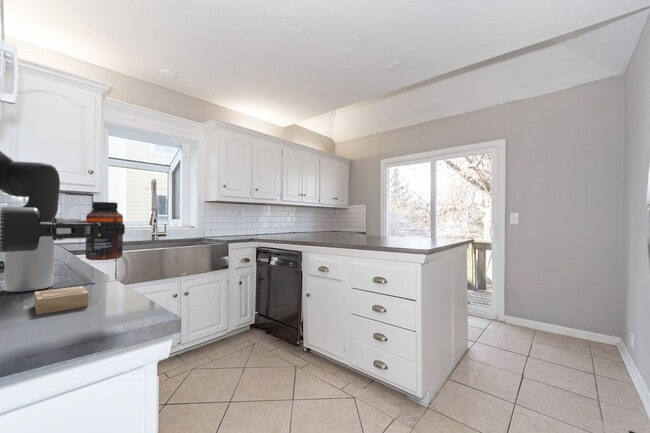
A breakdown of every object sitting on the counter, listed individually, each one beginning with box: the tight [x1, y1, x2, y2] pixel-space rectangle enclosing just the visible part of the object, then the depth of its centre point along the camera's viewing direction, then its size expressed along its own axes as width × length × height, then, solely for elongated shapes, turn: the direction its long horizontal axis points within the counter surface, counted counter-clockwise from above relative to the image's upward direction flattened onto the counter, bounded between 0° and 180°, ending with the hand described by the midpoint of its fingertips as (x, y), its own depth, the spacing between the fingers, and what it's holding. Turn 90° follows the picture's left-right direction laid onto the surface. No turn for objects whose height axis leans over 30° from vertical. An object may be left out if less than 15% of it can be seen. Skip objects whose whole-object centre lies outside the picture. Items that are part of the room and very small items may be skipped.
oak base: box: [34, 285, 89, 315], centre depth 64 cm, size 8×8×3 cm
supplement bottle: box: [85, 201, 124, 261], centre depth 59 cm, size 6×6×11 cm
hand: (119, 228), depth 61 cm, fingers closed on supplement bottle, 6 cm apart
